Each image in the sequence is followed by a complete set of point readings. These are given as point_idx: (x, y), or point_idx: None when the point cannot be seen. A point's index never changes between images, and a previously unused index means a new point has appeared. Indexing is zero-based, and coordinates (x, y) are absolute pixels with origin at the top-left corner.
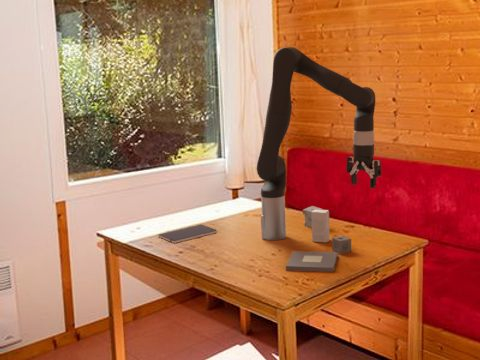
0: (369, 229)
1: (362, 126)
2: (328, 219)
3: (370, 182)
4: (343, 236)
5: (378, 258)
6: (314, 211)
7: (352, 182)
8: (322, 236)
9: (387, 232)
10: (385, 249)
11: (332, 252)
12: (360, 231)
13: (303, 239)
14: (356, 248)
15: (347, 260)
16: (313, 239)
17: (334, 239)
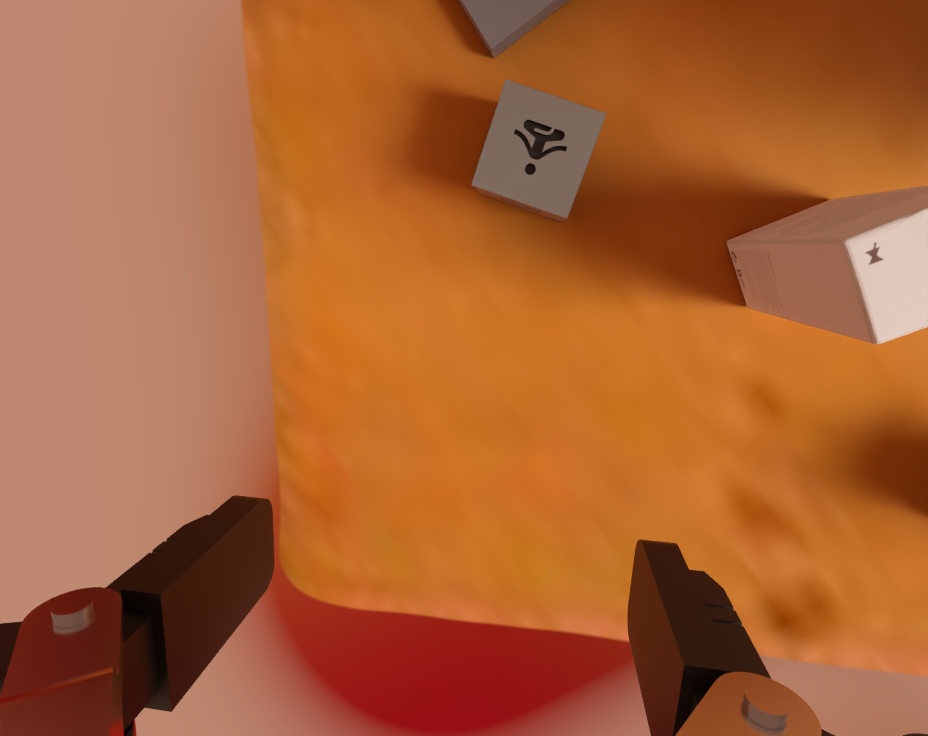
0: None
1: None
2: (817, 310)
3: (205, 543)
4: (552, 197)
5: (286, 197)
6: None
7: (665, 559)
8: (772, 228)
9: (529, 622)
10: (354, 357)
11: (516, 20)
12: None
13: None
14: (494, 268)
15: (397, 38)
16: (831, 200)
17: (572, 102)
